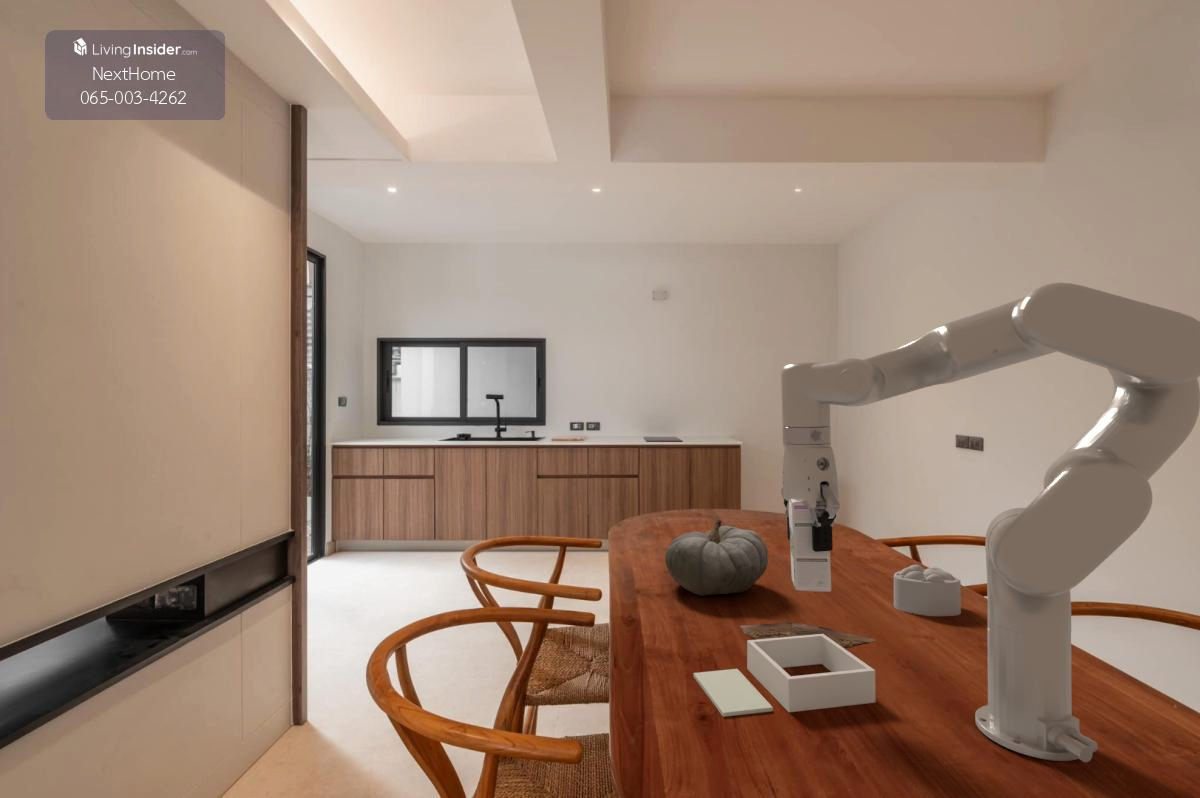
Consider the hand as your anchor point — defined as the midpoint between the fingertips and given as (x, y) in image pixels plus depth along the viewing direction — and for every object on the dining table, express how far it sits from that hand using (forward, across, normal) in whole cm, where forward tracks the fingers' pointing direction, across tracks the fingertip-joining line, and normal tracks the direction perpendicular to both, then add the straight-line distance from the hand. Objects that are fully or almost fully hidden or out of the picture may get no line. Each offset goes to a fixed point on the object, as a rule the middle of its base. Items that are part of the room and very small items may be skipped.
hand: (809, 544), depth 98 cm
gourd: (+23, +50, -3) cm, 55 cm away
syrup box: (+7, 0, 0) cm, 7 cm away
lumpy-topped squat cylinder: (+24, +28, -44) cm, 57 cm away
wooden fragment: (+24, +19, -10) cm, 32 cm away
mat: (+23, +1, +14) cm, 27 cm away
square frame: (+23, +1, +1) cm, 23 cm away
